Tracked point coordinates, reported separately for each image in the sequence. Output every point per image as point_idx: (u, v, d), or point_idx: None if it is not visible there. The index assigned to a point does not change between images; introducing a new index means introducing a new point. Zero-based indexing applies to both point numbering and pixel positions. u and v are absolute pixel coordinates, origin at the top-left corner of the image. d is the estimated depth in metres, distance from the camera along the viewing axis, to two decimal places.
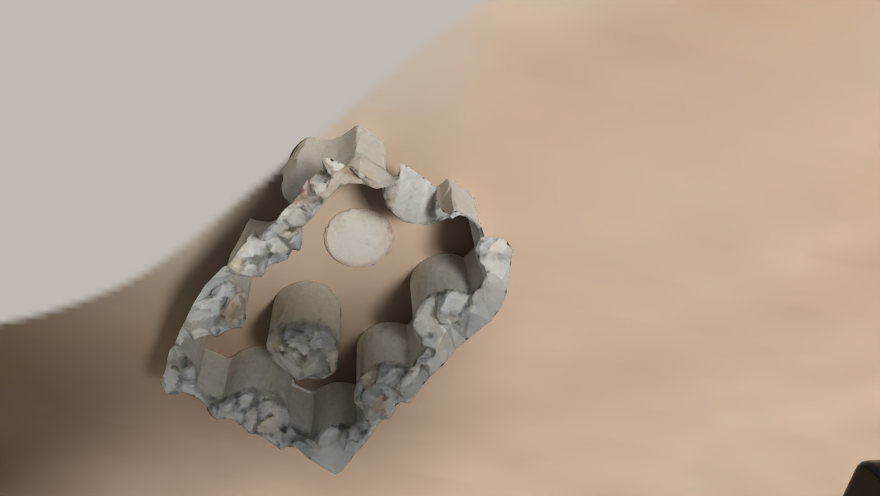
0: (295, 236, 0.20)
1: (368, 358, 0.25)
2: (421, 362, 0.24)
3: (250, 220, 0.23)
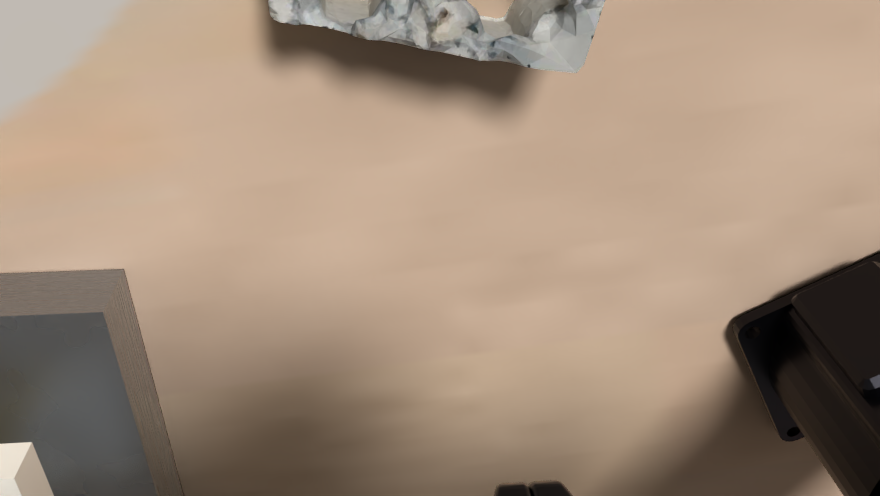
0: None
1: None
2: None
3: None
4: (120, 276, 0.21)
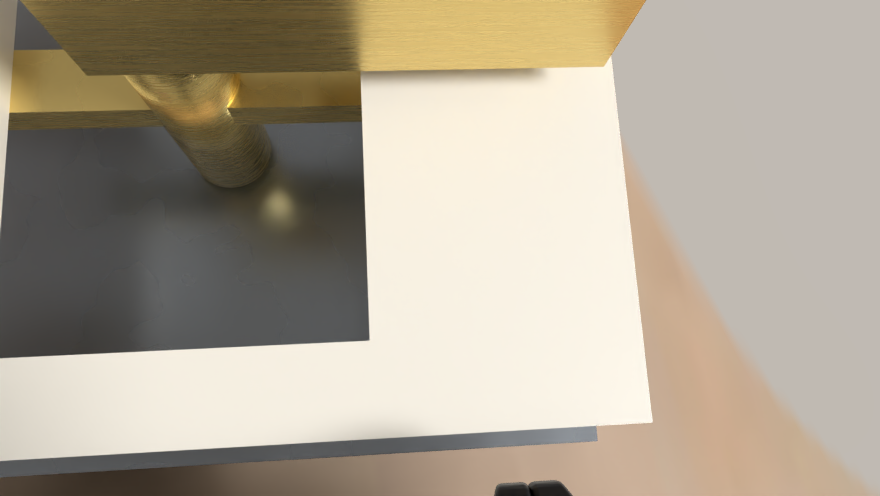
0: None
1: None
2: None
3: None
4: None
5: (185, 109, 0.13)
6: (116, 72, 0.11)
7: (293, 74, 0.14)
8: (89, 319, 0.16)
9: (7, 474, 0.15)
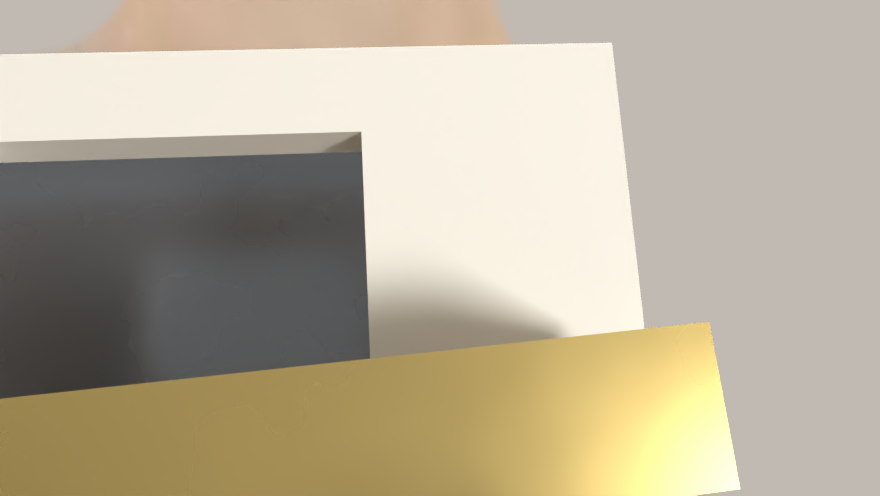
0: None
1: None
2: None
3: None
4: None
5: None
6: None
7: None
8: None
9: None
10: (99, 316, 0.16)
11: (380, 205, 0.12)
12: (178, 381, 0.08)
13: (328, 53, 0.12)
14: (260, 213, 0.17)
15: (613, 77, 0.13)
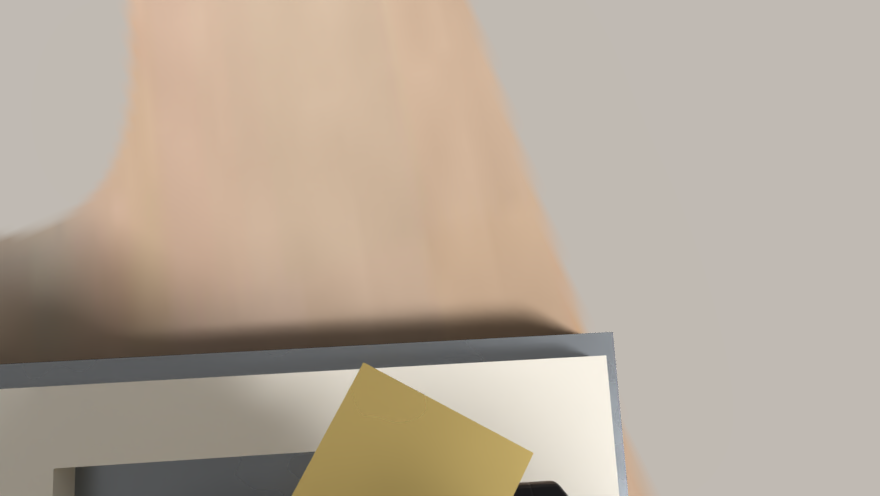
0: None
1: None
2: None
3: None
4: None
5: None
6: None
7: None
8: None
9: None
10: None
11: None
12: None
13: None
14: None
15: (607, 386, 0.15)
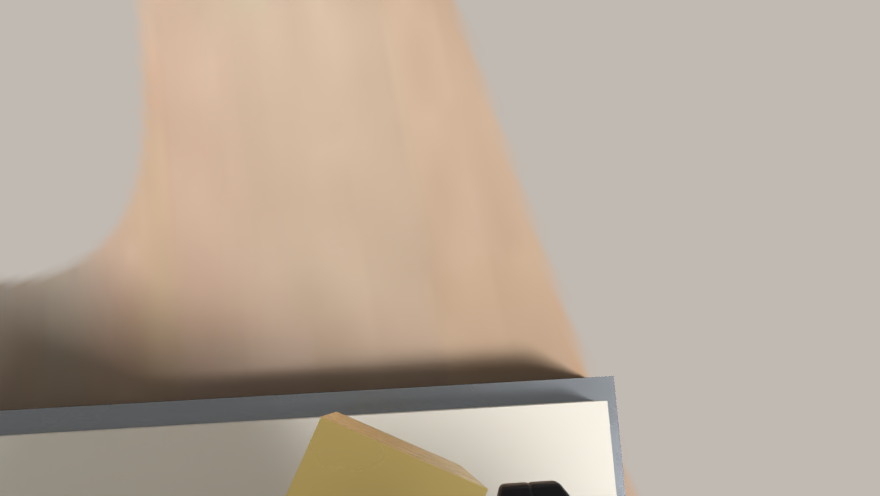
0: None
1: None
2: None
3: None
4: None
5: None
6: None
7: None
8: None
9: None
10: None
11: None
12: None
13: (367, 420, 0.15)
14: None
15: (608, 430, 0.15)
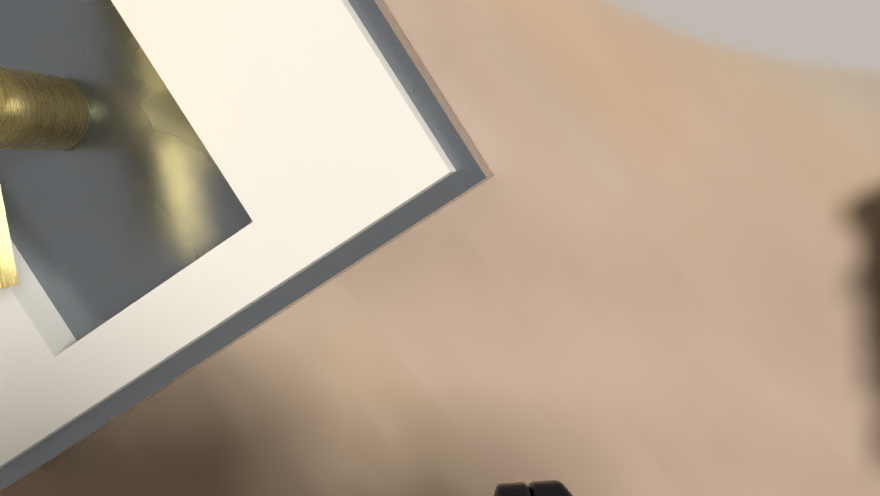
0: None
1: None
2: None
3: None
4: (491, 176, 0.18)
5: None
6: None
7: None
8: (54, 305, 0.19)
9: (79, 438, 0.19)
10: None
11: None
12: None
13: None
14: None
15: None
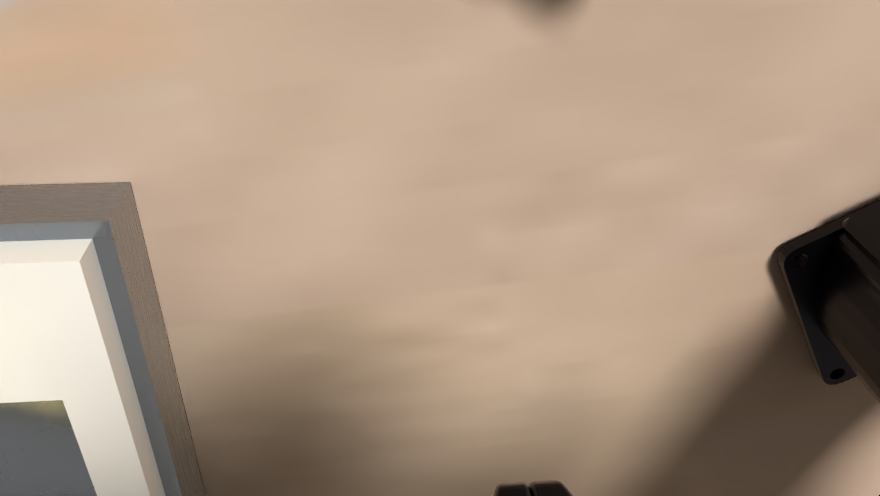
0: None
1: None
2: None
3: None
4: (127, 189, 0.19)
5: None
6: None
7: None
8: None
9: None
10: None
11: None
12: None
13: None
14: None
15: None
